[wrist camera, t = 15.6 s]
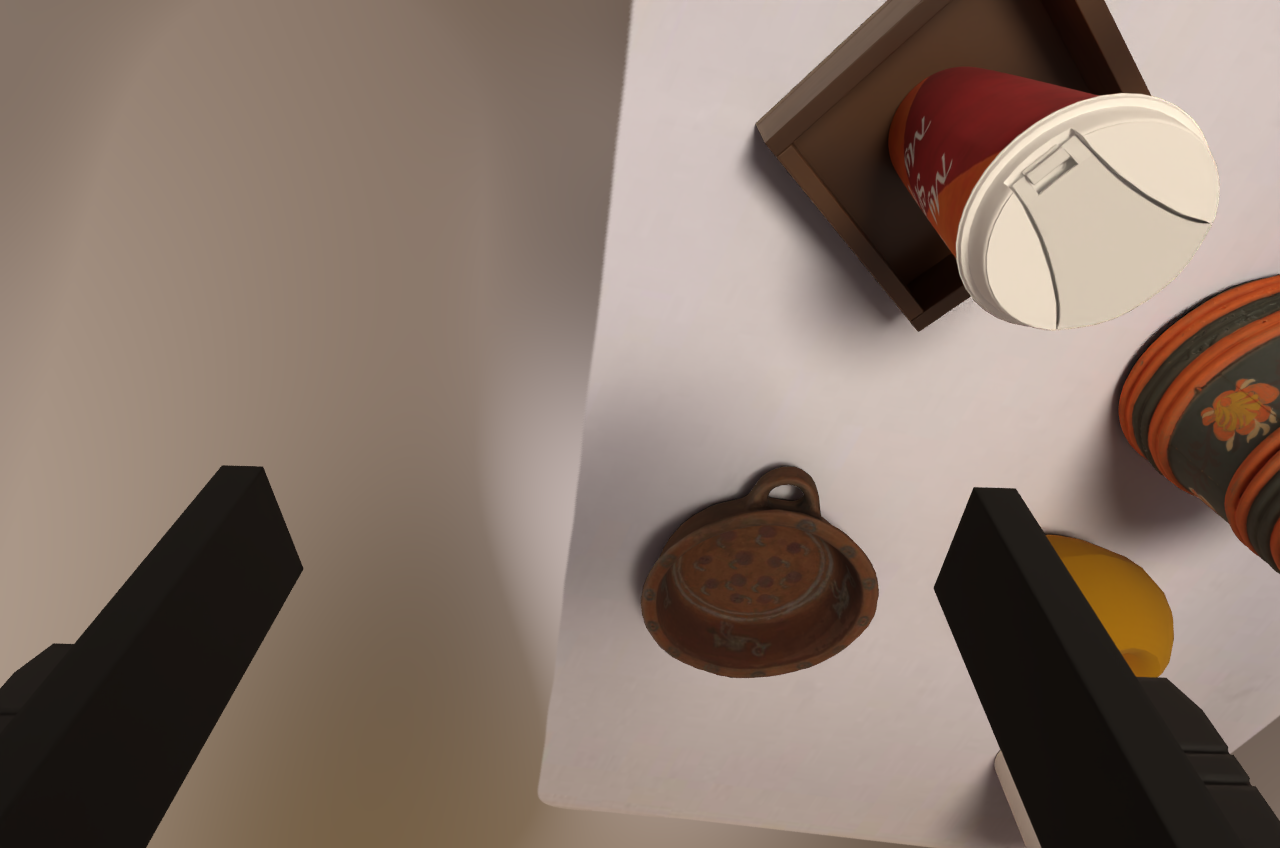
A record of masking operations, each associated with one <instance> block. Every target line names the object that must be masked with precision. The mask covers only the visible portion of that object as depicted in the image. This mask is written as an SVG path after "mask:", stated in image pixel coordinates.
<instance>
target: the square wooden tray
mask: <svg viewBox="0 0 1280 848" xmlns="http://www.w3.org/2000/svg"><path fill="white" fill-rule="evenodd" d="M954 67H977V68H983V69H988V70H993V71H998V72H1002V73H1007V74H1011V75H1016V76H1020V77H1024V78H1028V79H1033V80H1037V81H1041V82H1045V83H1049V84H1053V85H1057V86H1061V87H1066V88H1070V89H1074V90H1078V91H1082V92H1086V93H1090V94H1094V95H1098V96H1102V95H1110V94H1118V93H1130V94H1144V95H1148V96H1151V94H1150V92H1149V90H1148V88H1147V86H1146V84H1145V82H1144V80H1143V78H1142V76H1141V74H1140V72H1139V70H1138V68H1137V66H1136V64H1135V62H1134V60H1133V58H1132V56H1131V54H1130V51H1129V49H1128V47H1127V45H1126V43H1125V41H1124V39H1123V37H1122V35H1121V33H1120V31H1119V29H1118V27H1117V25H1116V23H1115V21H1114V19H1113V17H1112V15H1111V13H1110V11H1109V9H1108V7H1107V5H1106V3H1105V1H1104V0H887V1H886V2H885V3H884V4H883V5H882V6H881V7H880V8H879V9H878V10H877V11H876V12H875V13H873V14H872V15H871V16H870V17H869V18H868V19H867V20H866V21H865V22H864V23H863V24H862V25H861V26H860V27H858V28H857V29H856V30H855V31H854V32H853V33H852V34H851V35H850V36H849V37H848V38H847V39H846V40H845V41H843V42H842V43H841V44H840V45H839V46H838V47H837V48H836V49H835V50H834V51H833V52H832V53H831V54H830V55H829V56H827V57H826V58H825V59H824V60H823V61H822V62H821V63H820V64H819V65H818V66H817V67H816V68H815V69H814V70H812V71H811V72H810V73H809V74H808V75H807V76H806V77H805V78H804V79H803V80H802V81H801V82H800V83H799V84H797V85H796V86H795V87H794V88H793V89H792V90H791V91H790V92H789V93H788V94H787V95H786V96H785V97H784V98H782V99H781V100H780V101H779V102H778V103H777V104H776V105H775V106H774V107H773V108H772V109H771V110H770V111H769V112H767V113H766V114H765V115H764V116H763V117H762V118H761V119H760V120H759V121H758V122H757V123H756V126H757V128H758V130H759V132H760V134H761V136H762V138H763V140H764V142H765V144H766V145H767V147H768V148H769V149H770V150H771V152H772V153H773V154H774V155H775V156H776V157H777V159H778V160H779V161H780V163H781V164H782V165H783V166H784V167H785V169H786V170H787V171H788V172H789V174H790V175H791V176H792V177H793V179H794V180H795V181H796V182H797V183H798V185H799V186H800V187H801V188H802V190H803V191H804V192H805V193H806V195H807V196H808V197H809V198H810V199H811V201H812V202H813V203H814V204H815V206H816V207H817V208H818V209H819V211H820V212H821V213H822V214H823V215H824V217H825V218H826V219H827V220H828V222H829V223H830V224H831V225H832V226H833V228H834V229H835V230H836V231H837V233H838V234H839V235H840V236H841V238H842V239H843V240H844V241H845V242H846V244H847V245H848V246H849V247H850V249H851V250H852V251H853V252H854V254H855V255H856V256H857V257H858V258H859V260H860V261H861V262H862V263H863V265H864V266H865V267H866V268H867V270H868V271H869V272H870V273H871V274H872V276H873V277H874V278H875V279H876V281H877V282H878V283H879V284H880V286H881V287H882V288H883V289H884V290H885V292H886V293H887V294H888V295H889V297H890V298H891V299H892V300H893V301H894V303H895V304H896V305H897V306H898V308H899V309H900V310H901V311H902V313H903V314H904V315H905V316H906V317H907V319H908V320H909V321H910V322H911V324H912V325H913V326H914V327H915V329H916V330H917V331H921V330H922V329H924V328H925V327H927V326H928V325H930V324H931V323H933V322H934V321H935V320H937V319H938V318H940V317H941V316H943V315H944V314H946V313H947V312H949V311H950V310H952V309H953V308H954V307H956V306H957V305H959V304H960V303H962V302H963V301H965V300H966V299H968V298H969V297H971V296H970V294H969V293H968V291H967V290H966V289H965V287H964V284H963V282H962V280H961V277H960V275H959V271H958V266H957V261H956V258H955V257H954V255H953V254H952V252H951V251H950V250H949V248H948V247H947V245H946V244H945V242H944V241H943V240H942V238H941V237H940V235H939V234H938V233H937V231H936V230H935V228H934V227H933V226H932V224H931V223H930V221H929V220H928V218H927V217H926V216H925V214H924V213H923V211H922V210H921V208H920V207H919V206H918V204H917V203H916V201H915V200H914V198H913V197H912V195H911V194H910V192H909V191H908V190H907V188H906V187H905V185H904V183H903V182H902V180H901V179H900V177H899V176H898V174H897V172H896V170H895V168H894V166H893V164H892V162H891V158H890V154H889V147H888V138H889V131H890V126H891V123H892V120H893V117H894V115H895V113H896V111H897V109H898V107H899V105H900V104H901V102H902V101H903V100H904V98H905V97H906V96H907V95H908V93H909V92H910V91H911V90H912V89H913V88H914V87H915V86H916V85H918V84H919V83H920V82H921V81H923V80H924V79H926V78H927V77H929V76H931V75H933V74H935V73H937V72H939V71H942V70H945V69H949V68H954Z"/></svg>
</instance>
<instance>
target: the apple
mask: <svg viewBox="0 0 1280 848" xmlns="http://www.w3.org/2000/svg"><path fill="white" fill-rule="evenodd" d="M1046 537H1047V538H1048V540H1049V541H1050V543H1051V545H1052V546H1053V548H1054V549H1055V551H1056V552H1057V554H1058V555H1059V557H1060V559H1061V560H1062V562H1063V563H1064V565H1065V566H1066V568H1067V570H1068V571H1069V573H1070V574H1071V576H1072V577H1073V579H1074V581H1075V582H1076V584H1077V585H1078V587H1079V588H1080V590H1081V591H1082V593H1083V595H1084V596H1085V598H1086V599H1087V601H1088V602H1089V604H1090V606H1091V607H1092V609H1093V610H1094V612H1095V613H1096V615H1097V617H1098V618H1099V620H1100V621H1101V623H1102V624H1103V626H1104V628H1105V629H1106V631H1107V632H1108V634H1109V635H1110V637H1111V638H1112V640H1113V642H1114V643H1115V645H1116V646H1117V648H1118V649H1119V651H1120V653H1121V654H1122V656H1123V657H1124V659H1125V660H1126V662H1127V664H1128V665H1129V667H1130V668H1131V670H1132V671H1133V673H1134V675H1135V676H1136V677H1158V676H1160V675H1161V674H1162V673H1163V671H1164V670H1165V668H1166V667H1167V665H1168V663H1169V661H1170V656H1171V651H1172V646H1173V640H1174V631H1173V617H1172V612H1171V609H1170V607H1169V604H1168V602H1167V599H1166V597H1165V594H1164V592H1163V591H1162V590H1161V589H1160V588H1159V587H1158V585H1157V584H1156V583H1155V582H1154V581H1153V580H1152V579H1151V577H1150V576H1149V575H1148V574H1147V573H1146V572H1145V571H1144V570H1143V568H1141V567H1140V566H1138V565H1137V564H1135V563H1134V562H1132V561H1131V560H1129V559H1128V558H1126V557H1124V556H1122V555H1119V554H1117V553H1114V552H1112V551H1109V550H1107V549H1104V548H1102V547H1099V546H1097V545H1094V544H1091V543H1089V542H1086V541H1084V540H1081V539H1076V538H1071V537H1066V536H1059V535H1046Z"/></svg>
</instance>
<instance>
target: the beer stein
mask: <svg viewBox="0 0 1280 848" xmlns="http://www.w3.org/2000/svg"><path fill="white" fill-rule="evenodd" d="M1119 419H1120V424H1121V428H1122V430H1123V433H1124V435H1125V437H1126V439H1127V440H1128V442H1129V444H1130V445H1131V446H1132V447H1133V448H1134V449H1135V450H1136V451H1137V452H1138V453H1139V454H1140V455H1141V456H1143V457H1144V458H1145V459H1147V460H1148V461H1149V462H1150V463H1151V464H1152V466H1153V467H1154V468H1155V469H1156V470H1157V471H1158V472H1159V473H1160V474H1161V475H1163V476H1165V477H1166V478H1167V479H1168V480H1169V481H1170V482H1172V483H1173V484H1174V485H1176V486H1177V487H1178V488H1180V489H1181V490H1183V491H1185V492H1187V493H1189V494H1191V495H1193V496H1196V497H1198V498H1200V499H1201V500H1202V501H1203V502H1204V503H1205V504H1207V505H1208V506H1209V507H1210V508H1211V509H1212V510H1214V511H1215V512H1216V513H1217V514H1218V515H1219V516H1221V517H1222V518H1223V519H1224V520H1225V521H1226V522H1228V523H1229V524H1230V526H1231V528H1232V530H1233V532H1234V533H1235V535H1236V537H1237V538H1238V539H1239V540H1240V541H1241V542H1242V543H1243V544H1244V545H1246V546H1247V547H1248V548H1249V549H1250V550H1251V551H1252V552H1253V553H1255V554H1256V555H1258V556H1259V557H1261V558H1262V559H1263V560H1264V561H1265V562H1267V563H1268V564H1269V565H1270V566H1271V567H1272V568H1273V569H1274V570H1275V571H1276V572H1278V573H1279V574H1280V275H1277V276H1273V277H1269V278H1263V279H1258V280H1253V281H1250V282H1246V283H1243V284H1240V285H1238V286H1235V287H1233V288H1231V289H1228V290H1226V291H1224V292H1222V293H1220V294H1218V295H1216V296H1215V297H1213V298H1211V299H1209V300H1208V301H1206V302H1204V303H1203V304H1201V305H1200V306H1198V307H1197V308H1195V309H1194V310H1193V311H1191V312H1189V313H1188V314H1186V315H1185V316H1184V317H1182V318H1181V319H1179V320H1178V321H1177V322H1176V323H1174V324H1173V325H1172V326H1171V327H1170V328H1168V329H1167V330H1166V331H1165V332H1164V333H1163V334H1162V335H1161V336H1160V337H1159V338H1158V339H1157V340H1156V341H1155V342H1154V343H1153V344H1151V346H1150V347H1149V348H1148V349H1147V350H1146V351H1145V352H1144V353H1143V354H1142V356H1141V357H1140V358H1139V359H1138V361H1137V362H1136V363H1135V365H1134V366H1133V368H1132V370H1131V372H1130V373H1129V375H1128V378H1127V379H1126V381H1125V384H1124V386H1123V389H1122V392H1121V396H1120V401H1119Z"/></svg>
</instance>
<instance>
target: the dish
mask: <svg viewBox="0 0 1280 848" xmlns="http://www.w3.org/2000/svg"><path fill="white" fill-rule="evenodd" d="M788 484H789V485H794V486H797V487H799V488H800V489H801V491H802V492H803V494H804V495H803V497H801V498H800V499H798V500H796V501H787V500H781V499H776V498H770V497H768V496H769V493H770V491H771V490H772V489H773V488H775V487H778V486H780V485H788ZM878 596H879V589H878V581H877V576H876V572H875V570H874V568H873V566H872V564H871V562H870V560H869V559H868V557H867V556H866V554H865V553H864V552H863V551H862V550H861V548H860V547H859V546H858V545H857V544H856V543H855V542H854V541H853V540H852V539H851V538H850V537H849V536H848V535H846V534H845V533H844V532H843V531H841V530H840V529H838V528H836V527H834V526H833V525H831V524H830V523H829V522H828V521H827V520H825V519H824V518H823V517H821V513H820V504H819V496H818V492H817V488H816V485H815V482H814V481H813V479H812V477H811V476H810V475H809V474H807V473H806V472H805V471H803V470H802V469H799V468H797V467H790V466H787V467H780V468H776V469H773V470H771V471H769V472H768V473H766V474H765V475H763V476H762V477H761V478H760V479H759V481H758V482H757V483H756V485H755V486H754V488H753V489H752V490H751V492H750V493H749V494H748V495H747V496H745V497H743V498H740V499H736V500H731V501H727V502H723V503H719V504H716V505H713V506H710V507H708V508H706V509H704V510H703V511H701V512H699V513H697V514H695V515H694V516H692V517H691V518H689V519H688V520H687V521H686V522H684V523H683V524H682V525H681V526H680V527H679V528H678V529H677V530H676V531H675V533H674V534H673V535H672V536H671V537H670V538H669V540H668V542H667V543H666V545H665V547H664V548H663V551H662V553H661V555H660V557H659V559H658V560H657V562H656V563H655V564H654V566H653V568H652V569H651V570H650V573H649V575H648V576H647V578H646V581H645V583H644V586H643V591H642V596H641V609H642V616H643V618H644V623H645V625H646V628H647V629H648V631H649V632H650V634H651V635H652V637H653V638H654V640H655V641H656V642H657V644H658V645H659V646H660V647H661V648H662V649H663V650H665V651H666V652H667V653H668V654H669V655H671V656H672V657H674V658H676V659H677V660H679V661H681V662H683V663H685V664H688V665H690V666H693V667H695V668H697V669H701V670H704V671H707V672H710V673H713V674H716V675H720V676H727V677H730V678H755V677H769V676H776V675H781V674H786V673H790V672H795V671H798V670H801V669H806V668H809V667H812V666H814V665H817V664H819V663H821V662H823V661H825V660H827V659H829V658H830V657H832V656H834V655H836V654H838V653H839V652H840V651H842V650H843V649H845V648H846V647H847V646H849V645H850V644H851V643H852V642H853V641H854V640H855V639H856V638H857V637H859V636H860V635H861V634H862V632H863V631H864V630H865V629H866V628H867V627H868V626H869V624H870V622H871V620H872V619H873V617H874V615H875V612H876V607H877V600H878Z"/></svg>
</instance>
